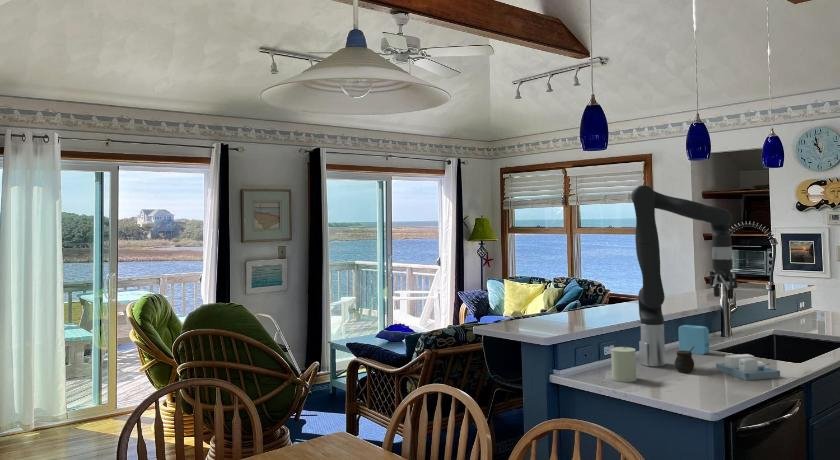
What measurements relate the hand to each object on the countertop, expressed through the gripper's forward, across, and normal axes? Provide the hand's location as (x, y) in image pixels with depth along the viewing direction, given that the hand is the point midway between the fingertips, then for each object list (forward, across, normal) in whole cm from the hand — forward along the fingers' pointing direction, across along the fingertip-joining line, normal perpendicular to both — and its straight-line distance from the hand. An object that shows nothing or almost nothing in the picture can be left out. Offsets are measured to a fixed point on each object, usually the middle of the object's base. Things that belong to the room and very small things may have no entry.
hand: (723, 297), depth 258 cm
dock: (+28, +13, 0) cm, 31 cm away
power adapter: (+27, +17, 0) cm, 32 cm away
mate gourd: (+28, +3, -20) cm, 35 cm away
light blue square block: (+28, -28, +4) cm, 40 cm away
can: (+28, +7, -48) cm, 56 cm away
